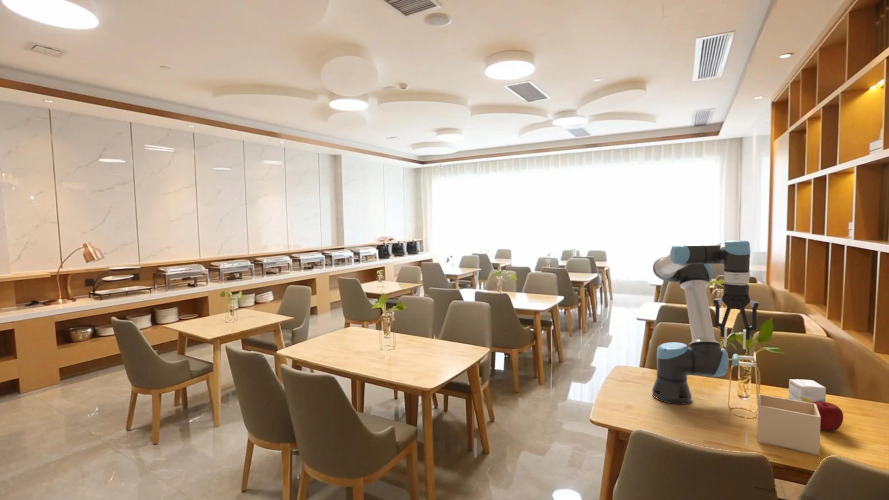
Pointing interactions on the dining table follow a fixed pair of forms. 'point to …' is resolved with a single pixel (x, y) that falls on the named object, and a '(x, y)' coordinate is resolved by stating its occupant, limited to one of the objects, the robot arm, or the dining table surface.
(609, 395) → the dining table surface
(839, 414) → the apple
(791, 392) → the ink box
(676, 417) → the dining table surface
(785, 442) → the carton
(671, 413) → the dining table surface
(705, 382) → the dining table surface
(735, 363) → the flap
